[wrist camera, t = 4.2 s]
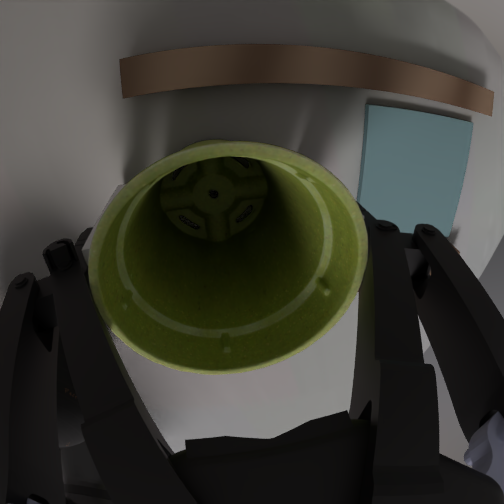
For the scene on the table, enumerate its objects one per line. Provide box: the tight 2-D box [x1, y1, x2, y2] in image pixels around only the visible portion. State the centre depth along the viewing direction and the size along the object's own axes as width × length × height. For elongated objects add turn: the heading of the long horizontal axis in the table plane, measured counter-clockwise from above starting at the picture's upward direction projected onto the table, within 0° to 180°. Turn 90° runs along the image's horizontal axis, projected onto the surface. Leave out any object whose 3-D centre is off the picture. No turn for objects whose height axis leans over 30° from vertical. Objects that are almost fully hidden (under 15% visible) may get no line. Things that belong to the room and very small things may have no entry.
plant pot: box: [88, 139, 368, 375], centre depth 13 cm, size 9×9×9 cm
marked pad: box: [357, 104, 473, 237], centre depth 18 cm, size 10×10×1 cm
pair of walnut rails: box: [119, 44, 494, 292], centre depth 17 cm, size 24×16×2 cm, turn 91°
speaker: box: [56, 331, 85, 447], centre depth 16 cm, size 10×10×10 cm
